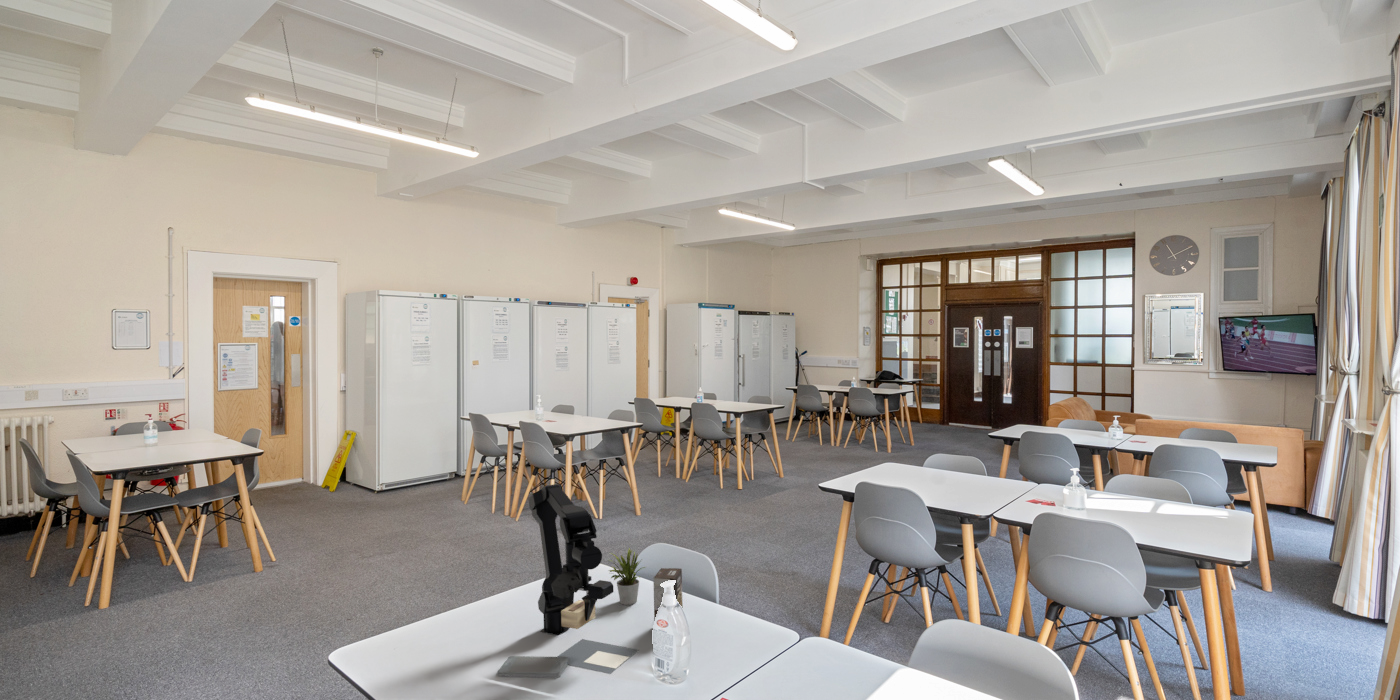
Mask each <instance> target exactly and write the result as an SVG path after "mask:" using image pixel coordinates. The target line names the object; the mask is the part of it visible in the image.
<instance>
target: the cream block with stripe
mask: <svg viewBox="0 0 1400 700" xmlns="http://www.w3.org/2000/svg"><path fill="white" fill-rule="evenodd" d="M595 618H596V604H595V605H594V608H593V611H592V613H591V616H590V618H589V620H588V621H586V620H585V603H584V601H583V600H582V599H578V600H576V601H575V602H573V604H572V605H570V606H568V607H567V608H565V609H563V610H562V611H561V623H562V626H563V627H568V628H569V629H570V628H571V629H575V630H578V629H580V628H582V627H583V626H585V625H586V624H587V623H589V622H590V621H592V620H593V619H595Z"/></svg>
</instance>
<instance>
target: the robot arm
mask: <svg viewBox="0 0 1400 700" xmlns="http://www.w3.org/2000/svg"><path fill="white" fill-rule="evenodd" d="M528 507H529V510H530V511H531V515H532V517H533V519H534V520H535V521H536V522H537V523H538V525H539V533H540V539H541V546H542V553H543V554H542V555H543V562H544V569H545V577H544V579H543V581H542V584H541V585H542V586H541V590H542V591H541V594H540V596H539V598H538V601H537V607H538V610H539V612H540V613H542V614H543V628H542V629H541V630H539V631H540V633H544V634H549V635H550V634H551V635H555V636H560V635H561V634H563V633H564V632H566V631H568V630H569V629H570V628H568V627H563V626H562V623H561V611H562V610H563V609H565V608H567V607H568V606H570V605H572V604H573V603H575V602H574V601H575V599H574V597H575V593H578V591H583V592H586V594H585V595H584V596H583V597H581V600H583V601H584V603H585V620H586V621H588V620H589V618H590V616H591V613H592V611H593V608H594V605H595V606H596V603H597V602H598V600H602V599H605V598H606V597H608V596H610V595H612V594H613V593H614V584H613V583H612V581H610V580H608V581H607V580H601V579H599V580H598V581H595V582H594V583H590V581H592V576H590V575H589V570H593V569H596V568H597V567H599V565H600V564H601V563H602V559H603V553H602V551H601V549H600V548H599V547H598V546H596V545H595V541H594V540H592V539H597V538H598V536H597V528H596V525H595V523H594V520H593V517H592V515H591V514H590V513H589V511H588V510H587V509H586V508H584V507H583V506H580V505H576V504H574V502H573V501H572V499H570V497H569V496H568V495H567V494H566V492H565V491H564V490H563V486H562V484H558V483H557V484H549V485H544V486H543V487H542V488H541V489H539V490H536V491H534V493H532V495H530V497H529V498H528ZM558 517H559V528H560V531H561V534H562V536H563V539H564V540H565V542H564V544H565V564H563V565H562V559H561V558H562V557H561V550H560V544H559V543H560V542H559V538H558V537H559V536H558V529H557V523H556V522H557V521H556V520H557V518H558Z"/></svg>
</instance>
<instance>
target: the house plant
mask: <svg viewBox="0 0 1400 700" xmlns="http://www.w3.org/2000/svg"><path fill="white" fill-rule="evenodd" d="M632 552H633V549H632V550H631V548H630V547H629V548H628V550H627V553H626V555H627V556H626V559H625V558H624V557H623V555H622V554H620V557H618V556H617V555H616V554H614V553H612V552H610V554H611V555H613V556H614V557H615V558H616V560H617V562H618V563H619V564H617V563H616V561H613V560H611V559H609V562H611V563H612V564H614V565H615V566H616V567H614V566H613V565H610V567H611V568H612V569H609V570H608V572H609V573H608V574H613V575H612V576H611V577H610V579H612V578H614V579H613V581H616V580H617V579H619V580H618V581H617V582H616V587H617V592H618V596H619V602H620V604H621V605H624V606H629V605H630V606H631V605H634V604H636V603H637V602H638V597H639V596H638V595H639V588H640V580H639V579H637V578H641V576H640V575H639V576H636V575H637V572H639V571H640V570H642V569H646V568H647V566H646V567H645V566H644V567H640V568H638V570H636V569H637V567H638V566H639V564H640V563H641V562H642V560H638V552H637V553H636V551H634V552H633V556H632V560H631V554H632ZM637 560H638V561H637ZM630 562H631V563H630ZM619 567H620V568H621V569H620V568H619ZM616 568H618V569H616ZM635 571H636V572H635ZM613 572H615V573H613Z"/></svg>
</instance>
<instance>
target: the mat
mask: <svg viewBox="0 0 1400 700" xmlns="http://www.w3.org/2000/svg"><path fill="white" fill-rule="evenodd" d="M638 651H639V652H640V649H637V648H632V647H628V646H621V645H616V644H611V643H606V642H600V641H595V640H589V639H584V638H581V639H580V640H579V641H578V642H576V643H575V644H573V645H572V646H570V647H568V648H567V649H566V650H565V651H563V652H561V653H560V654H559V655H557V656H556V657H568V658H569V663H568V665H567V666H570V667H575V668H581V669H585V670H589V671H594V672H600V673H604V674H609V675H611V674H613V673H614V672H615V671H616V670H617V669H619V667H621V666H622V665H624V663H626V662H627V661H628V660H629V659H631V657H633V656H635V654H636V653H638Z"/></svg>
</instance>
